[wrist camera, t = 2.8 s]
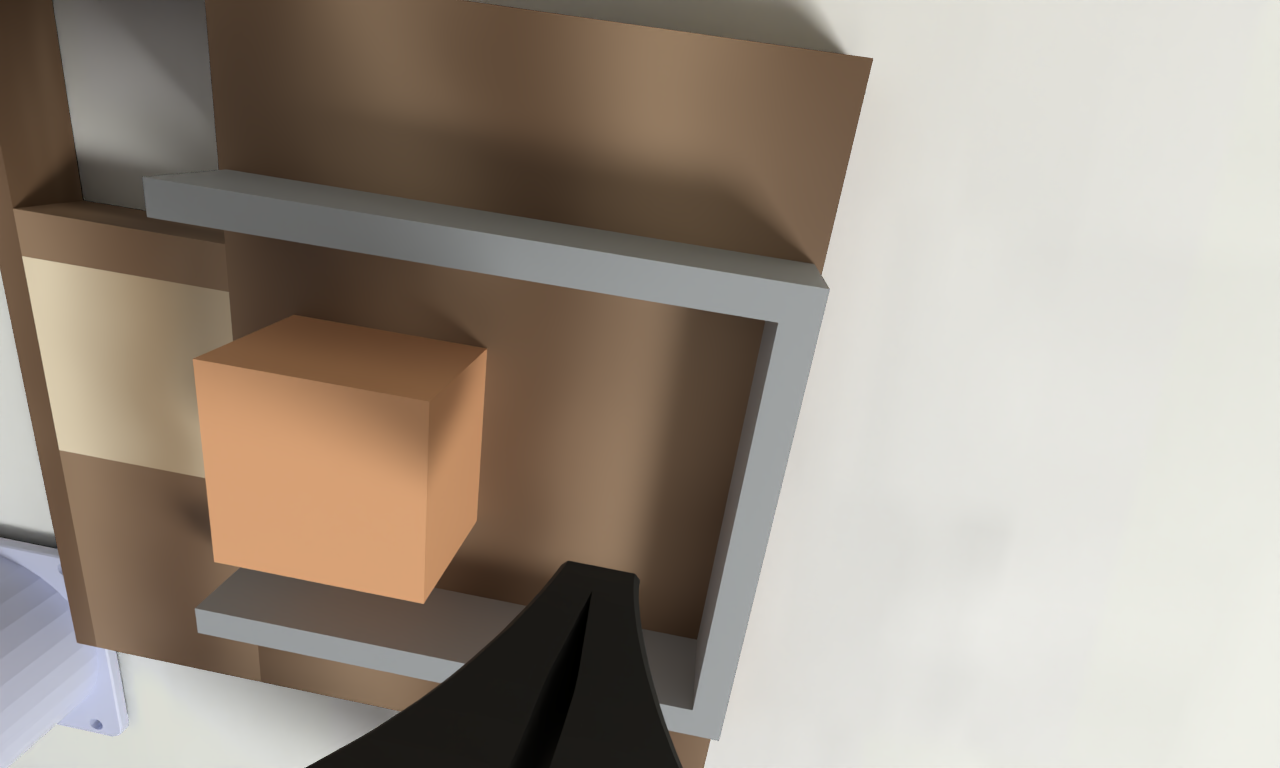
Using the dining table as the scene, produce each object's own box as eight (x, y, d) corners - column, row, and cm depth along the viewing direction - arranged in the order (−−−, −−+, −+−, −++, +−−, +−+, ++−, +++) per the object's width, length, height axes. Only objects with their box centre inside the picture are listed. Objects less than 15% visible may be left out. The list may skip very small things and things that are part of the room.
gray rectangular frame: (258, 575, 20) (197, 632, 18) (226, 169, 16) (142, 176, 14) (720, 667, 20) (719, 740, 17) (814, 263, 15) (829, 289, 13)
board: (127, 603, 24) (76, 643, 22) (18, -53, 17) (-70, -75, 15) (704, 721, 23) (701, 774, 21) (856, 66, 16) (873, 58, 14)
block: (302, 487, 19) (214, 561, 16) (294, 314, 17) (192, 358, 14) (477, 520, 19) (423, 603, 16) (487, 348, 17) (429, 401, 14)
